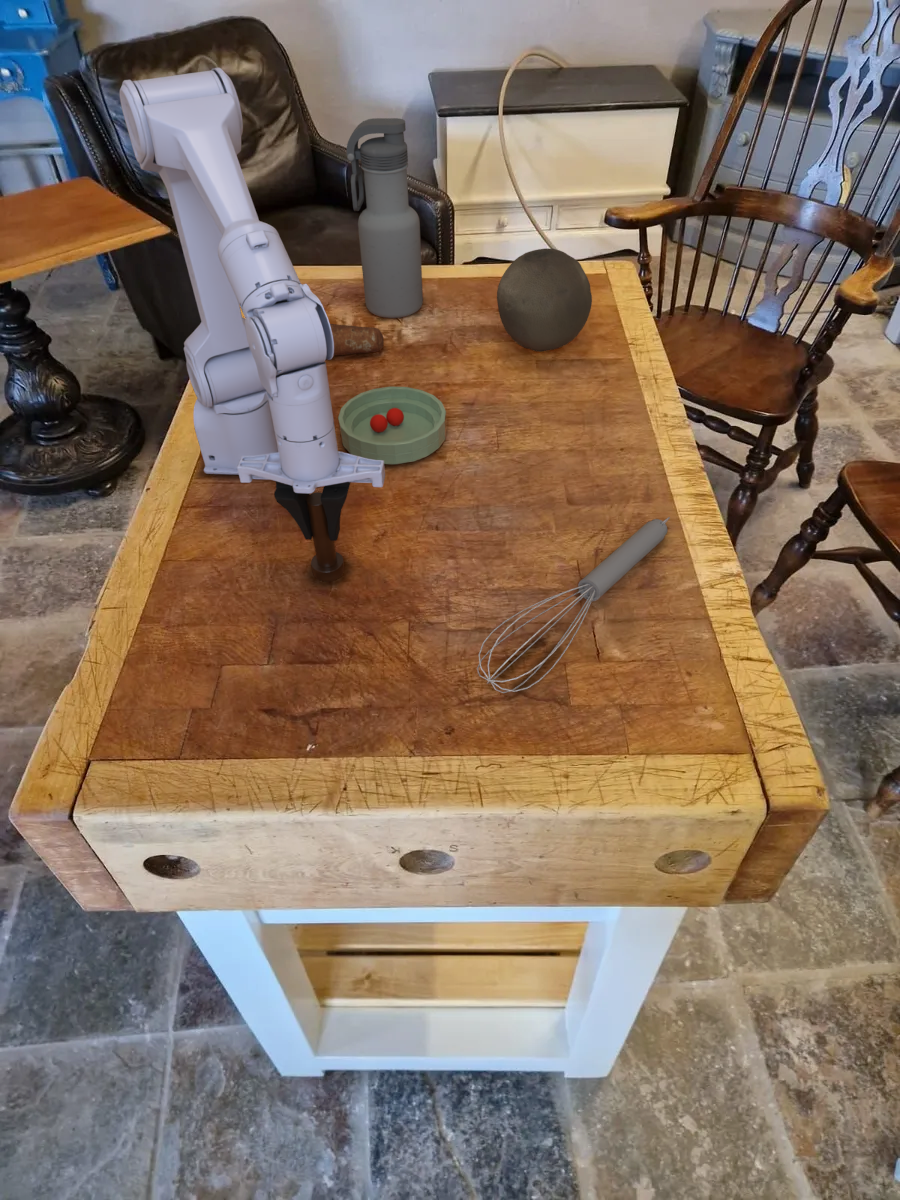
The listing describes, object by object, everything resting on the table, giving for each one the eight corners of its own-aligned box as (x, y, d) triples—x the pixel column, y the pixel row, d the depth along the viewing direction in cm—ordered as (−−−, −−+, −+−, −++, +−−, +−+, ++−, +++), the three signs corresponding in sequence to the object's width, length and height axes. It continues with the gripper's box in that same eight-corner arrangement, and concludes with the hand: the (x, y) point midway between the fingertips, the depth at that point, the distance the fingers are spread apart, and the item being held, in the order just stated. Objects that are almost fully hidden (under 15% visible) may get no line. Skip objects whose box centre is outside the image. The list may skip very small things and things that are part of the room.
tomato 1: (369, 435, 108) (368, 420, 106) (372, 425, 110) (370, 410, 108) (387, 436, 108) (385, 420, 106) (389, 426, 109) (388, 411, 108)
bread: (265, 346, 127) (259, 312, 123) (385, 343, 127) (382, 309, 123) (259, 366, 123) (252, 331, 119) (383, 363, 123) (380, 328, 119)
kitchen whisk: (689, 537, 93) (699, 494, 88) (513, 721, 75) (515, 678, 71) (643, 516, 96) (651, 473, 91) (463, 688, 78) (462, 645, 73)
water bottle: (358, 319, 133) (339, 131, 113) (368, 293, 140) (352, 111, 120) (419, 321, 132) (410, 131, 113) (426, 295, 139) (419, 112, 119)
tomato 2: (385, 429, 109) (384, 413, 107) (388, 419, 111) (386, 404, 109) (403, 429, 109) (402, 414, 107) (405, 420, 111) (404, 404, 109)
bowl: (333, 465, 104) (329, 443, 102) (350, 407, 114) (348, 385, 112) (441, 469, 103) (440, 446, 101) (449, 409, 113) (449, 387, 111)
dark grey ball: (497, 327, 130) (500, 233, 120) (584, 330, 129) (595, 234, 119) (493, 371, 120) (495, 272, 110) (587, 374, 119) (599, 275, 109)
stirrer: (309, 581, 89) (296, 508, 81) (316, 559, 91) (303, 487, 84) (341, 582, 88) (330, 510, 81) (347, 560, 91) (337, 488, 84)
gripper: (218, 447, 74) (247, 556, 84) (373, 452, 73) (384, 561, 83) (238, 406, 79) (263, 513, 89) (383, 410, 78) (392, 518, 88)
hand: (322, 534), depth 86 cm, fingers closed on stirrer, 2 cm apart
